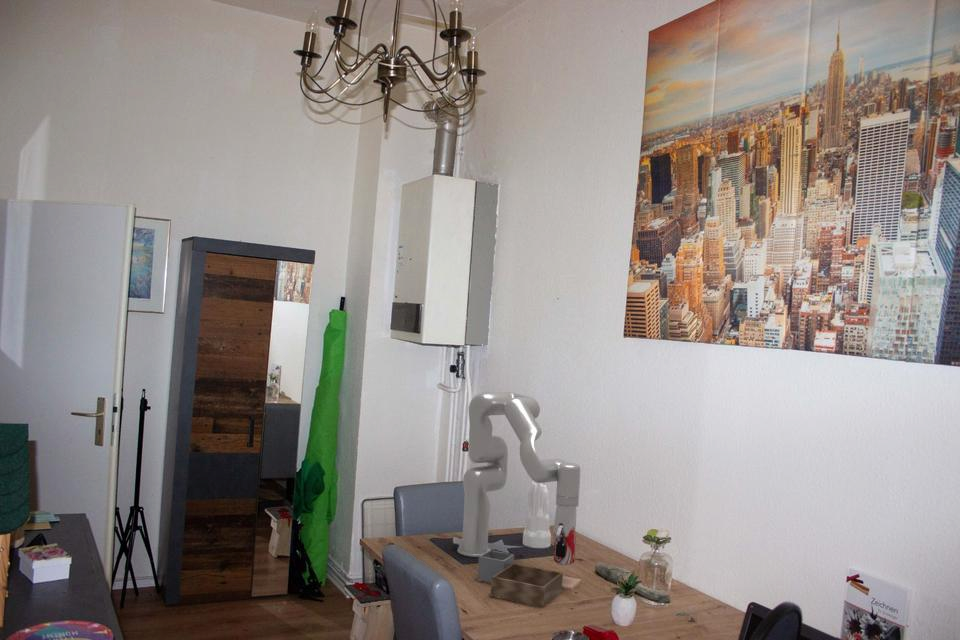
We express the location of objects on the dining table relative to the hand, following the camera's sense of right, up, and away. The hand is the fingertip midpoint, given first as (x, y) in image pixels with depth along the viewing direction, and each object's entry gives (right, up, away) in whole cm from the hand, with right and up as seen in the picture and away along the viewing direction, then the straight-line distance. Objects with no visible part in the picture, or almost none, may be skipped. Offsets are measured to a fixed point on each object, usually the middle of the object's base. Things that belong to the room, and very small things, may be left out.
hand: (564, 553), depth 267 cm
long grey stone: (+22, -12, +2) cm, 25 cm away
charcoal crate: (-23, -8, -1) cm, 24 cm away
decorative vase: (-6, -10, +46) cm, 47 cm away
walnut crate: (-13, -9, -13) cm, 21 cm away
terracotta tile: (-1, -10, 0) cm, 10 cm away
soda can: (0, -3, 0) cm, 3 cm away
